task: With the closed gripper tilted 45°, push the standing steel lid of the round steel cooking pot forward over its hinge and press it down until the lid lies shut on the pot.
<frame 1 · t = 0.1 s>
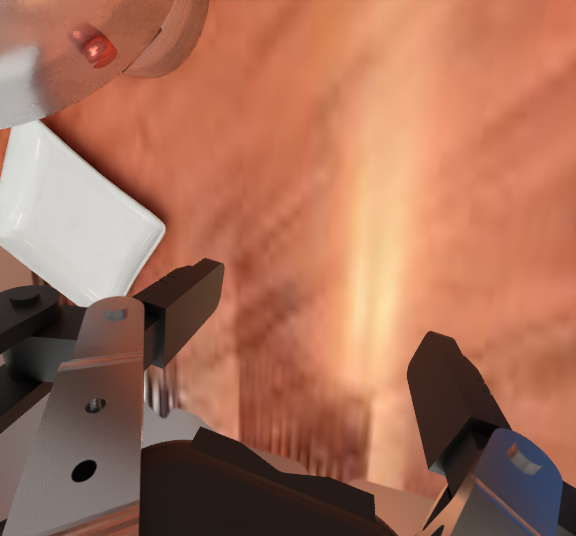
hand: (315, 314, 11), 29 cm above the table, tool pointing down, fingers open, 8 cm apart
square plate: (87, 227, 49), on the table
lid: (62, 39, 19), point 19 cm above the table, hinge at 104.0°
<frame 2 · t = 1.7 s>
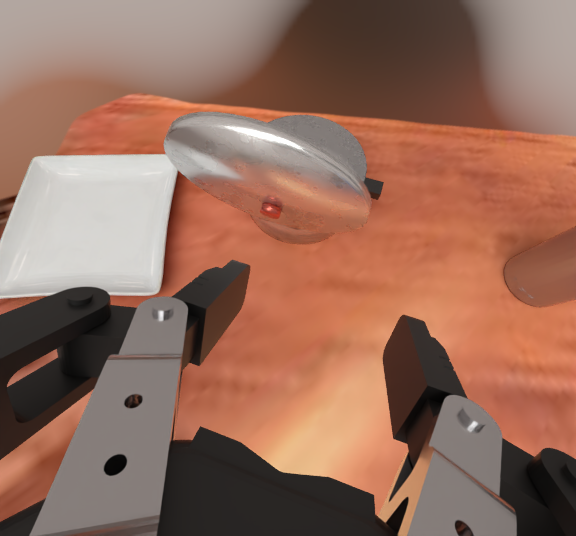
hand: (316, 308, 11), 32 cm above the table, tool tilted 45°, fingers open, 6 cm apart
square plate: (102, 228, 49), on the table
lid: (268, 195, 29), point 19 cm above the table, hinge at 104.0°
pot: (300, 196, 51), on the table
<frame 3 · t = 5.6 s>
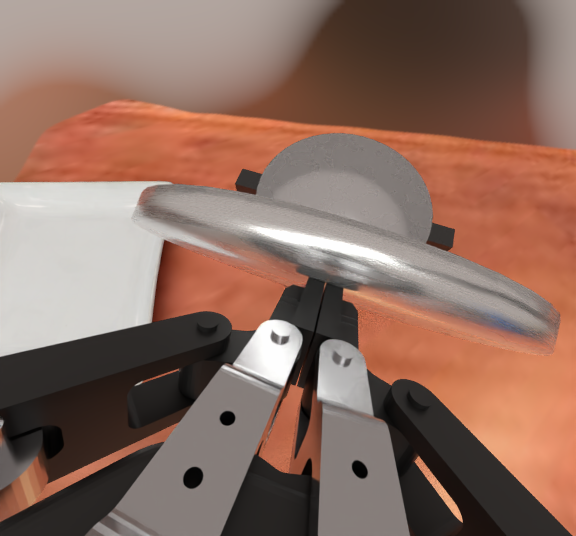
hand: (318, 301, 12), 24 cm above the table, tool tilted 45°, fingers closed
square plate: (72, 280, 37), on the table
lid: (317, 288, 17), point 19 cm above the table, hinge at 103.8°, touching gripper
pot: (331, 236, 39), on the table
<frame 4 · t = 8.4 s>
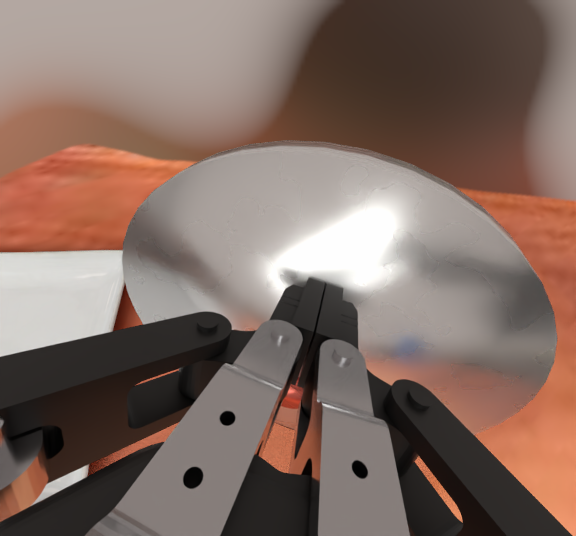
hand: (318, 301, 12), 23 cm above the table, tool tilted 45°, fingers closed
square plate: (13, 365, 33), on the table
lid: (298, 355, 15), point 19 cm above the table, hinge at 61.4°, touching gripper
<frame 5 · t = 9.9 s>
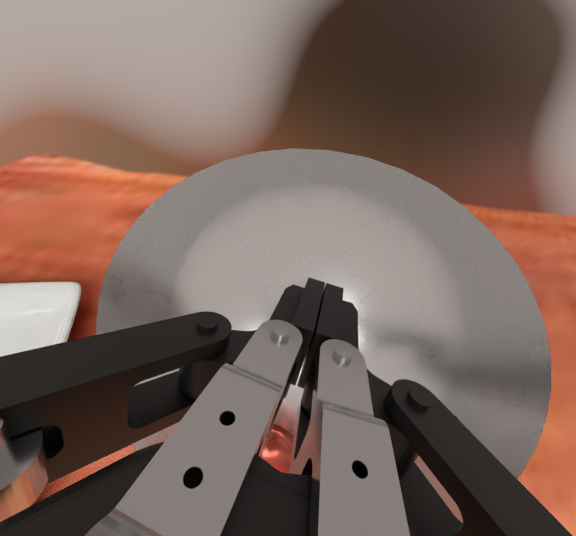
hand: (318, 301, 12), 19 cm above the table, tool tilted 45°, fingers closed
lid: (288, 391, 13), point 16 cm above the table, hinge at 35.9°, touching gripper
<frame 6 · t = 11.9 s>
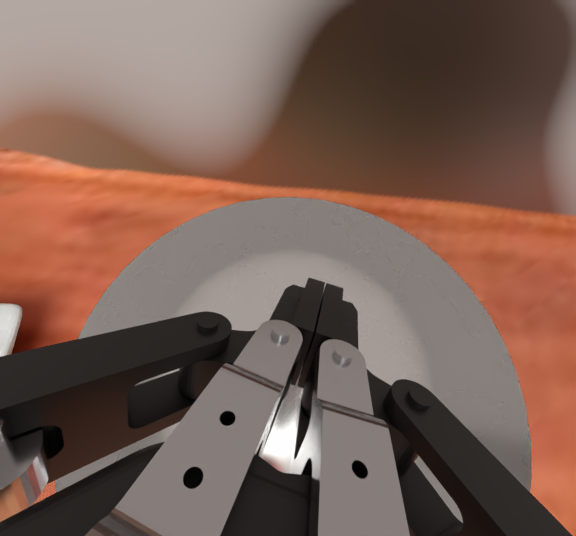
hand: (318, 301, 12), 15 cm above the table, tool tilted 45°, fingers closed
lid: (278, 426, 12), point 12 cm above the table, hinge at 11.4°
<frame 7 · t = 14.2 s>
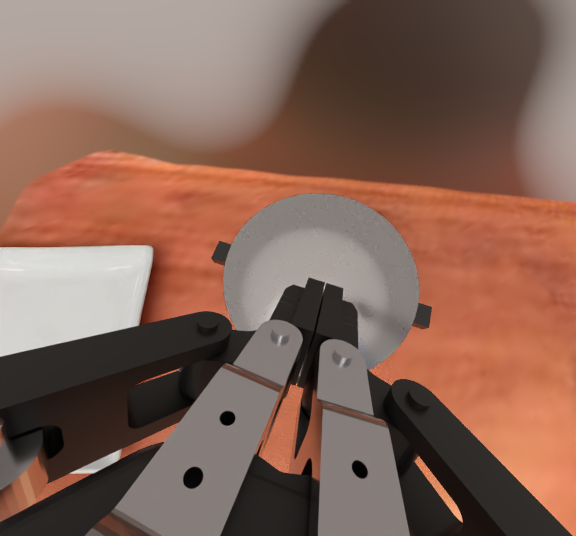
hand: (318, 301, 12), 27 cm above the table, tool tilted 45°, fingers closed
square plate: (51, 347, 37), on the table
lid: (319, 277, 29), point 10 cm above the table, hinge at -0.1°
pot: (312, 298, 39), on the table
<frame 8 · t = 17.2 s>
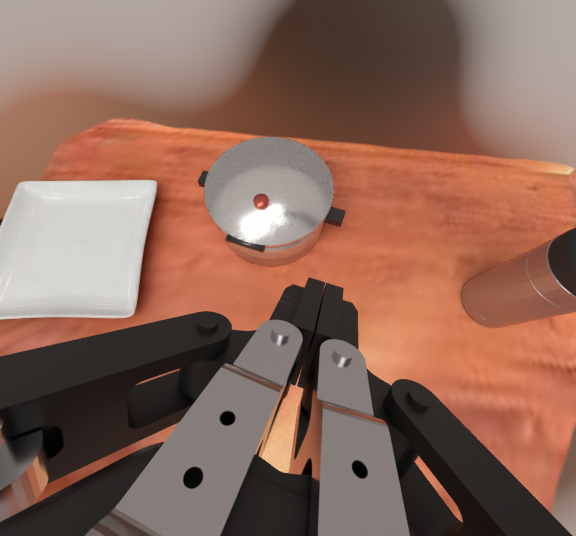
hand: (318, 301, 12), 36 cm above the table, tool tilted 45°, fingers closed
square plate: (84, 251, 52), on the table
lid: (268, 188, 44), point 10 cm above the table, hinge at -0.1°
pot: (272, 219, 54), on the table
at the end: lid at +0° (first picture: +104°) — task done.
